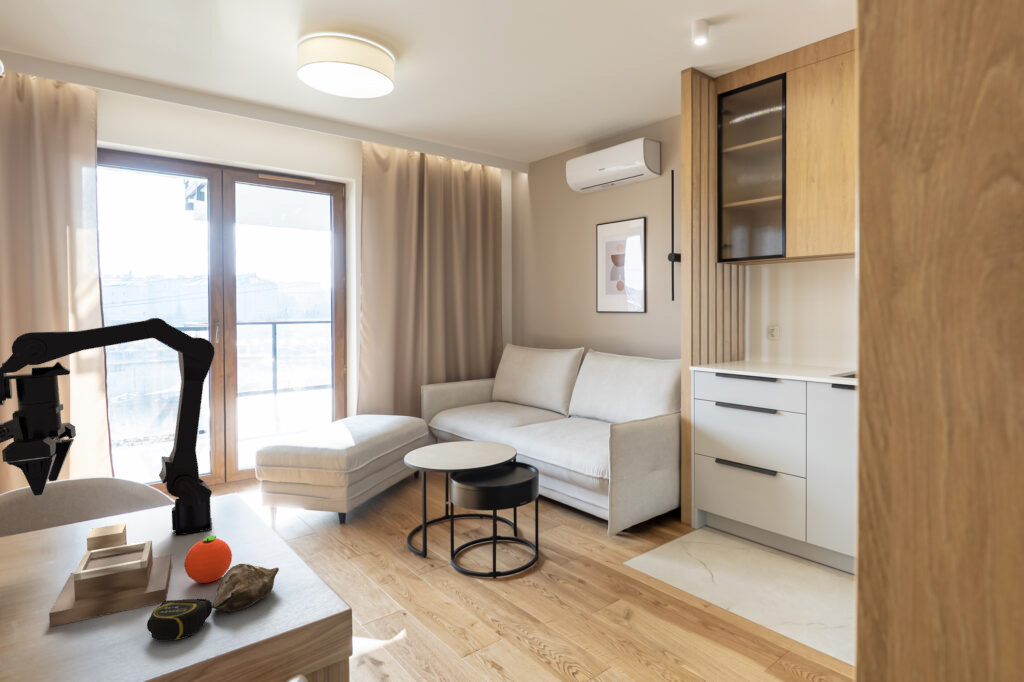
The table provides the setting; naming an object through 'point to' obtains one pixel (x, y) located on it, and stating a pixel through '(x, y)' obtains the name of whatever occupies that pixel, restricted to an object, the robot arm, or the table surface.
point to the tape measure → (178, 618)
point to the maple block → (107, 537)
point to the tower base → (112, 583)
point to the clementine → (208, 560)
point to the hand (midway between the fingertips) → (46, 487)
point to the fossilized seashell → (243, 587)
